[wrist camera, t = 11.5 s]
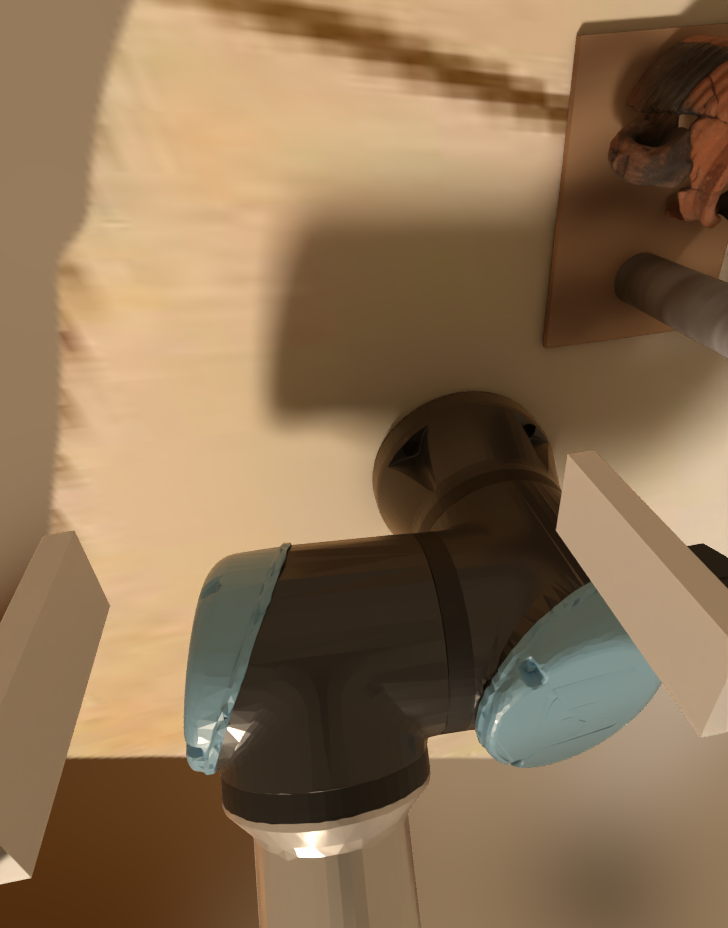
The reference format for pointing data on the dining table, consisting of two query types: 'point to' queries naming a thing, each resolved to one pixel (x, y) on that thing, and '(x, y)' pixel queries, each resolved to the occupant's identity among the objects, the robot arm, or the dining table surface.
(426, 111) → the dining table surface
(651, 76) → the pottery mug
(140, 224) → the dining table surface
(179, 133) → the dining table surface
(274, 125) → the dining table surface
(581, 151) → the brown board with post
